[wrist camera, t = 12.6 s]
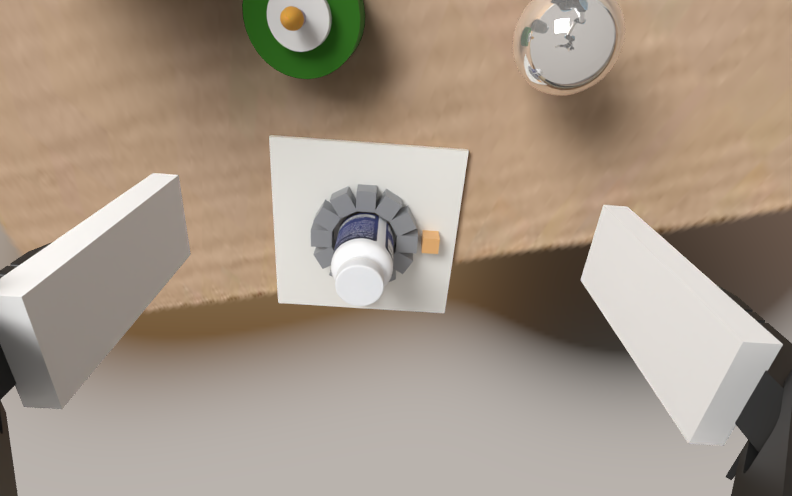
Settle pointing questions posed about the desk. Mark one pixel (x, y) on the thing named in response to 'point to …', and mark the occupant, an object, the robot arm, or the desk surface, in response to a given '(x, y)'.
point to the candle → (304, 33)
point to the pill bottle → (362, 258)
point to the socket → (365, 192)
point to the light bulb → (568, 43)
